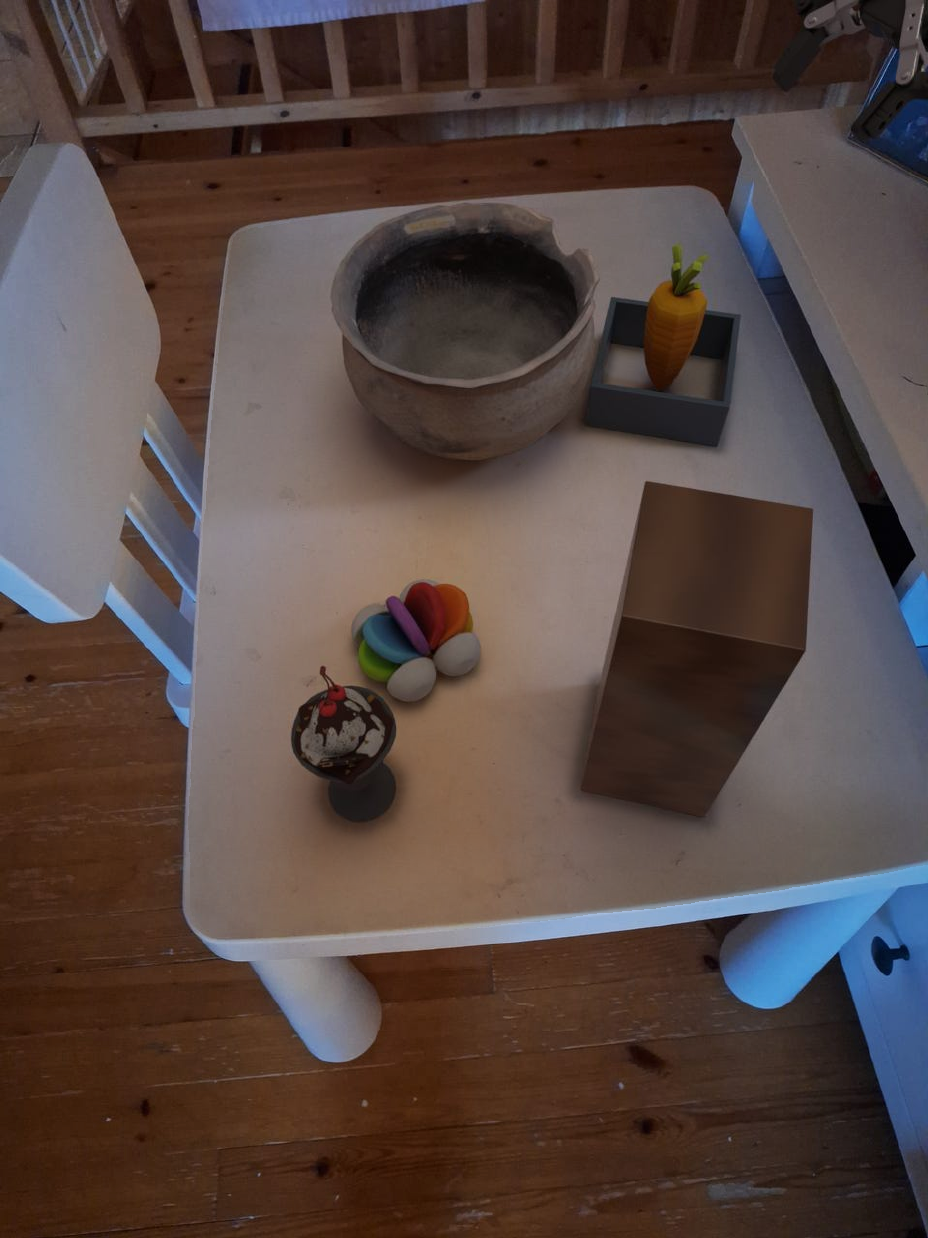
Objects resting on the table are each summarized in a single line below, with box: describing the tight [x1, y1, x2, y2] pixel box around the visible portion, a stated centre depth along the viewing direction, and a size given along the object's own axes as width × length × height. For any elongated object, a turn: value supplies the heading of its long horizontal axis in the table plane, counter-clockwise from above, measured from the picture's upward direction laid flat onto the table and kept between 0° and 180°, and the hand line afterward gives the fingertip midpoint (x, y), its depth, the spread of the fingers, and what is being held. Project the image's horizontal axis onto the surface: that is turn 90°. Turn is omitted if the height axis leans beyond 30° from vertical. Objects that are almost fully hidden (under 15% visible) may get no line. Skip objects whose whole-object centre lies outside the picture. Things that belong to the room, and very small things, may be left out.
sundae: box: [290, 665, 397, 823], centre depth 59 cm, size 7×7×15 cm
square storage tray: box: [584, 296, 742, 447], centre depth 84 cm, size 12×12×5 cm
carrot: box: [643, 243, 710, 392], centre depth 80 cm, size 5×5×15 cm
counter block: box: [579, 480, 814, 818], centre depth 57 cm, size 9×9×24 cm
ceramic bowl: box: [330, 202, 601, 461], centre depth 79 cm, size 22×22×15 cm
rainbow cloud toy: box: [350, 578, 481, 702], centre depth 69 cm, size 8×10×7 cm
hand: (816, 110), depth 69 cm, fingers open, 8 cm apart
